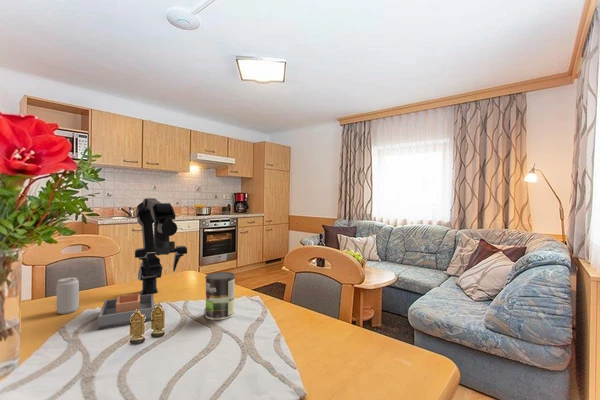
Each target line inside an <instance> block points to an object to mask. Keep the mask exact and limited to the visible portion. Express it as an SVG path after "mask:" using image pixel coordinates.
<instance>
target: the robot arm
mask: <svg viewBox="0 0 600 400" xmlns="http://www.w3.org/2000/svg"><path fill="white" fill-rule="evenodd" d="M135 217H136V219H137V223H138V224H139V225H140V226H141V231H142V232H141V234H142V235H141V236H142V245H143V247H141V248H136V249H135V250H134V258H136V259H137V258H138V260H141V263H140V266H139V269H138V271H137V279H138V280H139V281H141V282H142V284H141V285H142V286H141V291H140V295H148V294H157V293H159V291H158V286H157V282H158V281H157V280H158V279H161V278H162V274H163V272H162V271H163V266H162V264H161V259H160V258H159V257H158V256H161V255H165V256H168V255H170V254H172V253H173V254H174V257H173V259H174V260H173V267H172V269H173V271H172V272H176V269H177V266H178V263H179V261H180V259H181V258H182V257H184V255H186V254H188V247H186V246H185V245H176V242H175V241H174V240H173V241H170V237H171V236H174V235H175V234H176V233H177V231H178V225H177V223H175V222H174V221H175V220H176V212H175V210H174V207H173V206H172V203H170V202H166V203H165V202H161V201H159V200H158V199H157V198H154V197H153V198H152V197H151V198H150V197H149V198H148V197H147V198H143V201H142V202H140V203H139V204H137V206H136V209H135ZM173 220H174V221H173Z"/></svg>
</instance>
